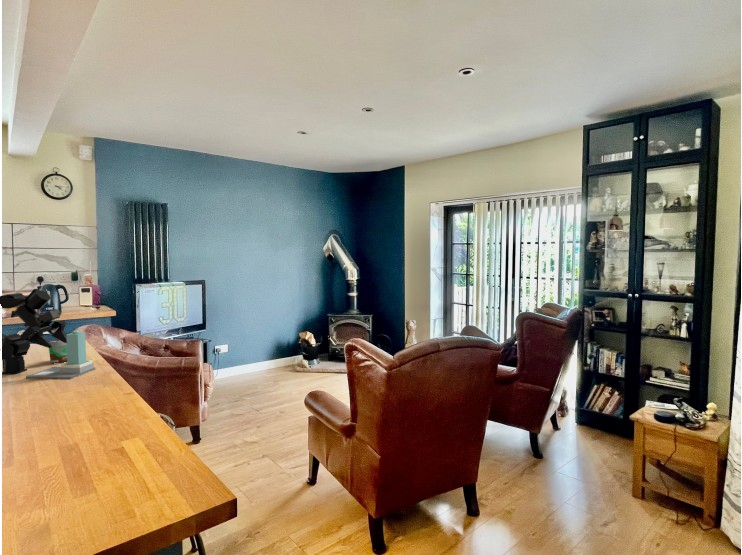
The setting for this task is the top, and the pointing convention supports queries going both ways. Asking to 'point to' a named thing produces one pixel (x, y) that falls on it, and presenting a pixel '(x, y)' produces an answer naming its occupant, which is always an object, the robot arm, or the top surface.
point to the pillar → (76, 348)
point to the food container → (58, 352)
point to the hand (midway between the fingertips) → (59, 344)
